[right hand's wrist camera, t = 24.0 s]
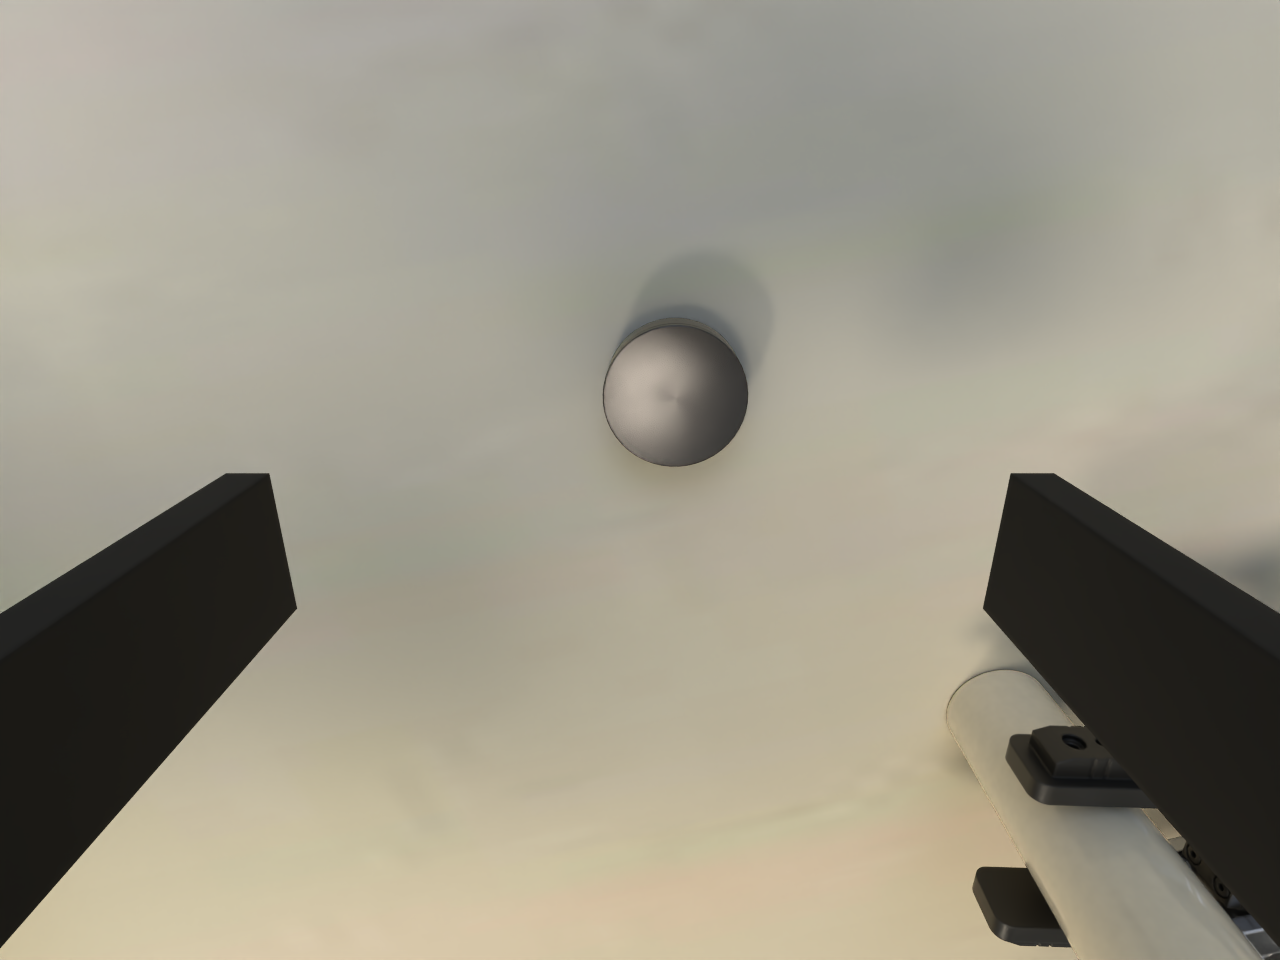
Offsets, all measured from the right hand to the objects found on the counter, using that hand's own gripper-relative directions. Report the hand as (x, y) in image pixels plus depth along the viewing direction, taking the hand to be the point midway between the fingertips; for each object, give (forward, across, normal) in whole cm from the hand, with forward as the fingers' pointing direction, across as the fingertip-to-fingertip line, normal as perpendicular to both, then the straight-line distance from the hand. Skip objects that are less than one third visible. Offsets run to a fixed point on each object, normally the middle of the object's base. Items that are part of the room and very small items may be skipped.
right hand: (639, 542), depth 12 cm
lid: (+10, +1, 0) cm, 10 cm away
